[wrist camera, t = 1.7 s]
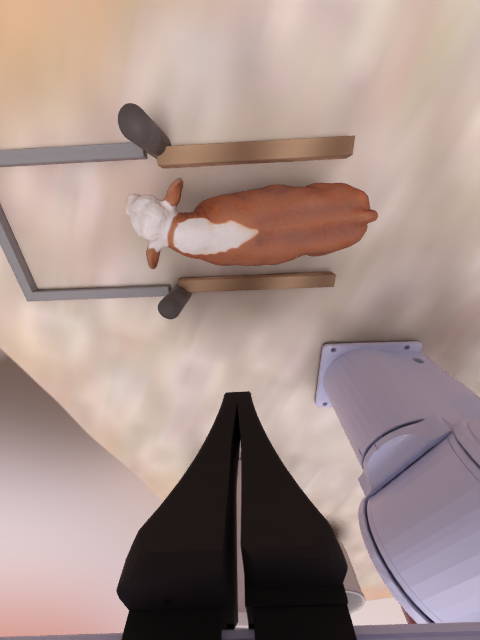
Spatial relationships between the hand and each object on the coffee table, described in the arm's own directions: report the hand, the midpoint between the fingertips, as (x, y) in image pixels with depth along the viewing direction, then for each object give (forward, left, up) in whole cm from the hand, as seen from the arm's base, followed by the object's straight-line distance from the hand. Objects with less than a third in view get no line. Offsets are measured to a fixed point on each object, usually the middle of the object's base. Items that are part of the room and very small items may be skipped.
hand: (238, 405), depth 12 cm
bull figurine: (-1, -9, -10) cm, 13 cm away
